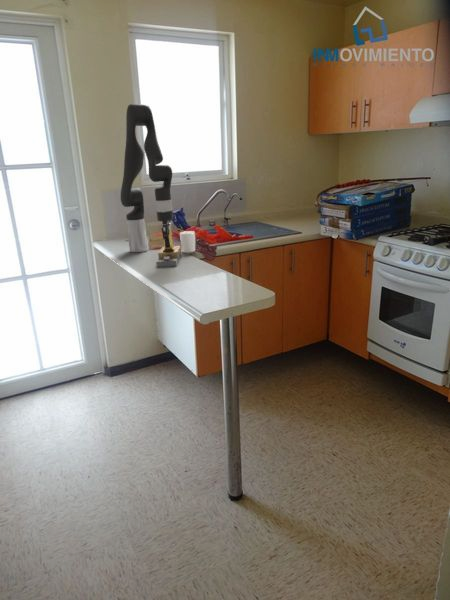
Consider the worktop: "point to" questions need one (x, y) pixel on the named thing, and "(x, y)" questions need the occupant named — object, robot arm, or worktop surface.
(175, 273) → the worktop surface
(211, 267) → the worktop surface
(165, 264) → the tan and grey block
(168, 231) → the brass pin
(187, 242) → the white cup
